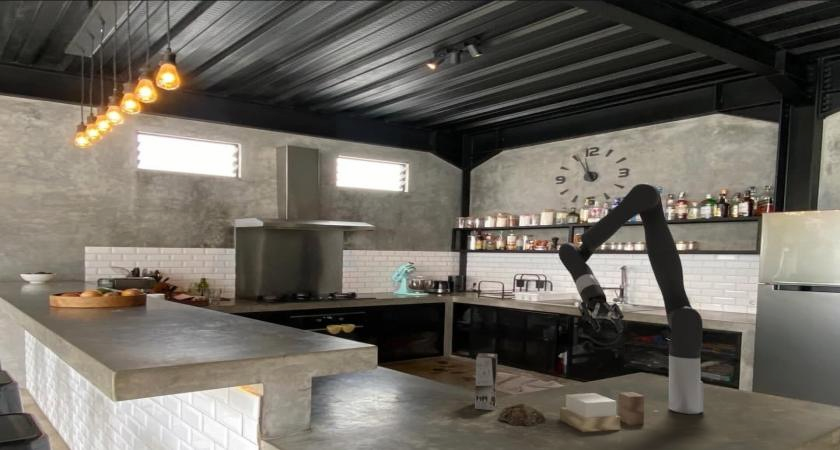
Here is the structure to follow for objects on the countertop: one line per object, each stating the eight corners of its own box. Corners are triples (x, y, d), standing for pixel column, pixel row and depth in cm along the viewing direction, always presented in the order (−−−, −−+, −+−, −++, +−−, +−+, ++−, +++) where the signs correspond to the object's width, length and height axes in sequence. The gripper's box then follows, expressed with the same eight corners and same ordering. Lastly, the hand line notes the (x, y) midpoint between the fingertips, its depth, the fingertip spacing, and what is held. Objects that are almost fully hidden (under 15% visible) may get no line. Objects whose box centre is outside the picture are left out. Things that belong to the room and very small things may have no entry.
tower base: (595, 419, 171) (595, 405, 171) (620, 431, 159) (620, 416, 160) (559, 421, 167) (560, 407, 168) (582, 433, 156) (582, 418, 156)
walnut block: (632, 419, 170) (633, 392, 171) (643, 423, 166) (644, 396, 166) (618, 420, 169) (618, 392, 170) (629, 424, 164) (629, 396, 165)
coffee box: (495, 410, 175) (496, 357, 176) (474, 409, 176) (475, 356, 177) (497, 403, 184) (498, 353, 185) (477, 402, 185) (478, 352, 186)
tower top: (594, 406, 170) (594, 393, 170) (616, 415, 160) (616, 401, 161) (565, 408, 167) (565, 394, 167) (586, 417, 157) (586, 403, 158)
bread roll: (515, 412, 175) (516, 396, 175) (550, 421, 166) (550, 404, 166) (489, 420, 166) (490, 402, 166) (525, 430, 157) (525, 411, 157)
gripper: (577, 282, 186) (596, 322, 175) (613, 284, 190) (634, 324, 179) (567, 297, 191) (585, 337, 179) (602, 298, 195) (622, 338, 184)
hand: (610, 330), depth 179 cm, fingers open, 8 cm apart
